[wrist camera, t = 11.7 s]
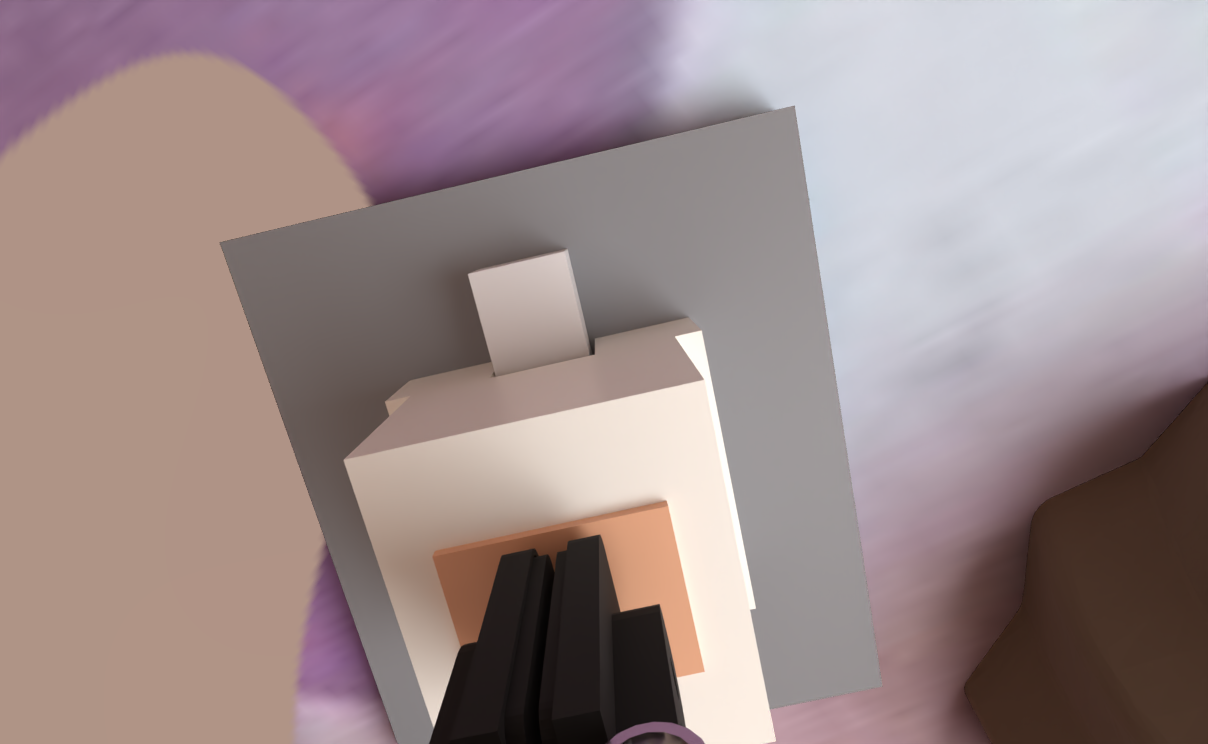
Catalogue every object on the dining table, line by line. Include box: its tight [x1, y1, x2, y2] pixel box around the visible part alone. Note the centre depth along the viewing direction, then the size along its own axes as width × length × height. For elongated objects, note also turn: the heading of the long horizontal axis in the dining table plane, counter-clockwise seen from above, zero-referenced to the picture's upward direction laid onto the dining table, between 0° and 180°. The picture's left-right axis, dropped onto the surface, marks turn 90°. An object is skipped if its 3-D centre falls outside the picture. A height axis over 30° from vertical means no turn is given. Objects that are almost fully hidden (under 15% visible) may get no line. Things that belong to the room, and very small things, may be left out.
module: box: [344, 317, 776, 744], centre depth 14 cm, size 7×7×6 cm
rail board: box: [220, 106, 882, 744], centre depth 17 cm, size 16×14×3 cm
